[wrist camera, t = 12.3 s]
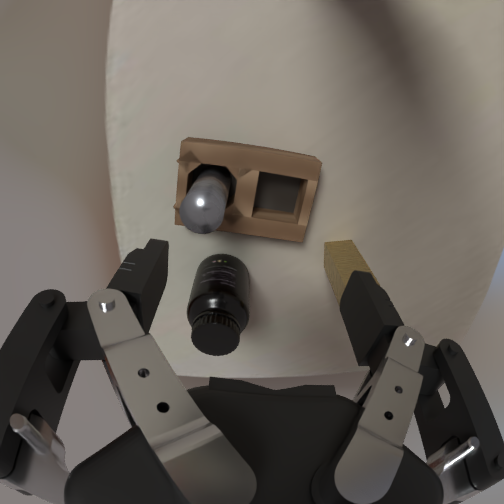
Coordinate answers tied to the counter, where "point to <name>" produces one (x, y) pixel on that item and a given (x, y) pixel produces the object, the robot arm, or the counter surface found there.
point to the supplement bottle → (219, 304)
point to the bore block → (254, 186)
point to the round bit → (206, 200)
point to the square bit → (342, 264)
